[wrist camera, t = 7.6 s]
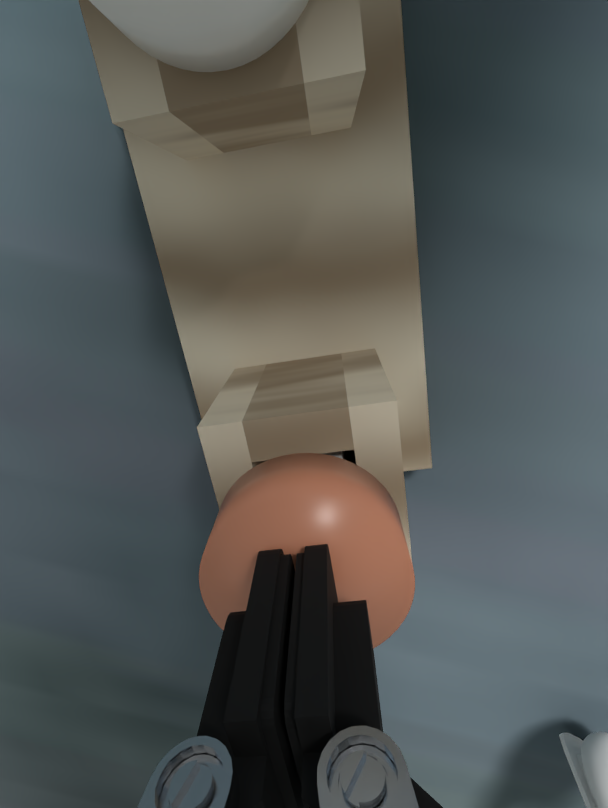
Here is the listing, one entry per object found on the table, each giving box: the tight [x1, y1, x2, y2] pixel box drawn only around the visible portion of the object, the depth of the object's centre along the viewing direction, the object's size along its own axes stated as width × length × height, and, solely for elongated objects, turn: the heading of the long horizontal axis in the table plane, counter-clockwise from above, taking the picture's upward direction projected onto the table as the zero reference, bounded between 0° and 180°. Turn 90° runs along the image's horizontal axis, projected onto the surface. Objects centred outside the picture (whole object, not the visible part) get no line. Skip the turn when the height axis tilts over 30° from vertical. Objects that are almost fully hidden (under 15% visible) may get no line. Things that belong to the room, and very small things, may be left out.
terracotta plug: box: [199, 451, 415, 648], centre depth 14 cm, size 5×5×8 cm
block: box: [79, 0, 432, 561], centre depth 15 cm, size 20×10×8 cm, turn 9°
